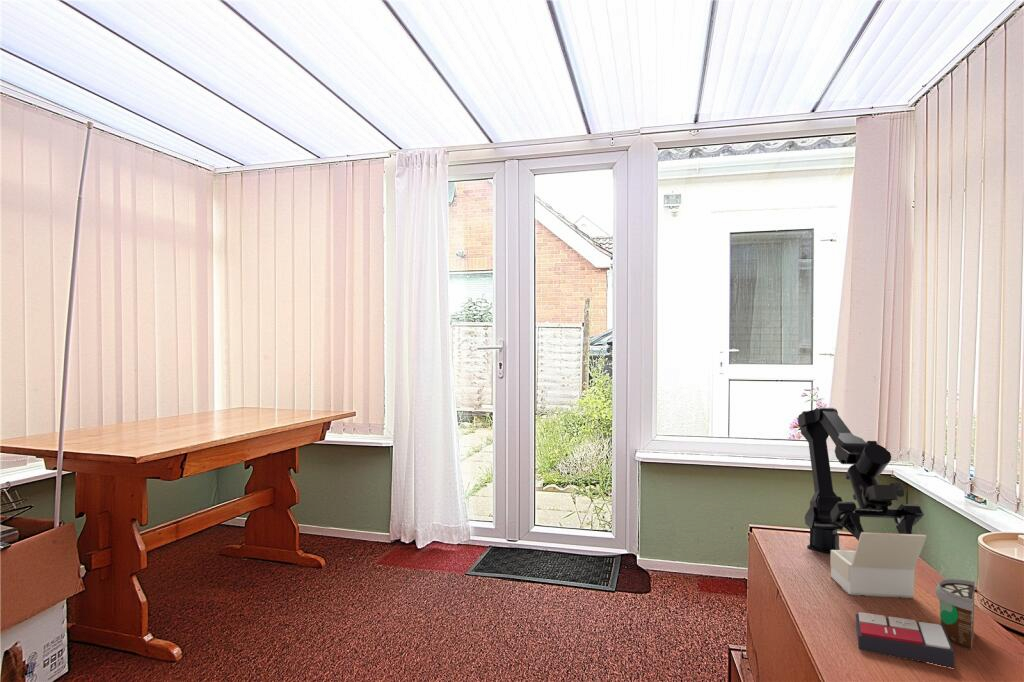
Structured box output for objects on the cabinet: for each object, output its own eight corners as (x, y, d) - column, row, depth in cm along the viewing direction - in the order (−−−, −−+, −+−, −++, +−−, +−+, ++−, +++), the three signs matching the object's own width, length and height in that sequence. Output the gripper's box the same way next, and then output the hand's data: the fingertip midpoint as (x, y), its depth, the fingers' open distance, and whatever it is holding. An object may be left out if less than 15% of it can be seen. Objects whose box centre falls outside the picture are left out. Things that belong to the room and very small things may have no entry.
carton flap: (861, 532, 136) (862, 533, 136) (925, 534, 135) (926, 536, 135) (851, 564, 141) (852, 566, 140) (913, 567, 140) (914, 569, 139)
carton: (829, 578, 151) (830, 549, 151) (891, 581, 150) (892, 552, 150) (848, 594, 141) (848, 564, 141) (914, 598, 140) (915, 567, 140)
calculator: (855, 609, 126) (943, 622, 119) (856, 630, 126) (944, 644, 119) (858, 631, 116) (954, 647, 109) (859, 654, 116) (955, 671, 109)
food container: (937, 620, 129) (938, 573, 129) (973, 629, 125) (974, 580, 125) (931, 642, 119) (932, 591, 119) (970, 653, 115) (971, 600, 115)
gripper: (836, 467, 143) (857, 530, 133) (920, 470, 142) (948, 533, 131) (822, 491, 151) (840, 552, 141) (901, 494, 150) (925, 556, 139)
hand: (888, 548), depth 138 cm, fingers open, 9 cm apart
